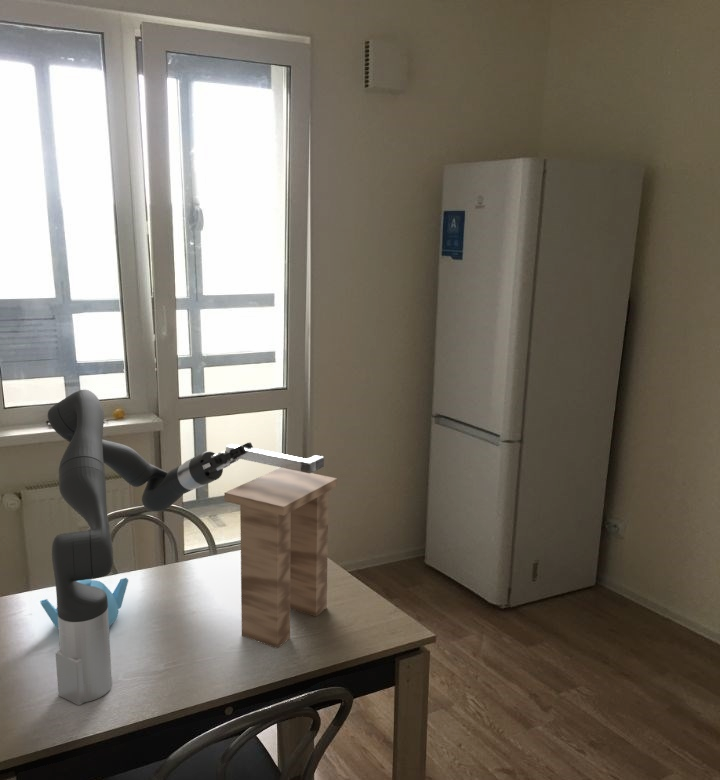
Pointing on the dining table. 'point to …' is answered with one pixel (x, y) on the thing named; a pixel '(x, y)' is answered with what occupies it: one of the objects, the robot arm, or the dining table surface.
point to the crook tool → (281, 459)
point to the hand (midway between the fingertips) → (247, 447)
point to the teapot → (113, 599)
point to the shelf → (282, 550)
